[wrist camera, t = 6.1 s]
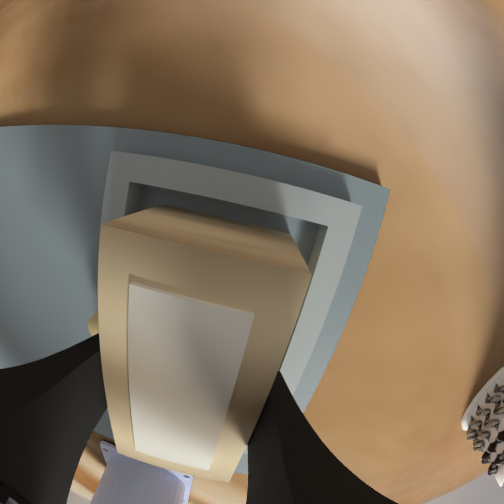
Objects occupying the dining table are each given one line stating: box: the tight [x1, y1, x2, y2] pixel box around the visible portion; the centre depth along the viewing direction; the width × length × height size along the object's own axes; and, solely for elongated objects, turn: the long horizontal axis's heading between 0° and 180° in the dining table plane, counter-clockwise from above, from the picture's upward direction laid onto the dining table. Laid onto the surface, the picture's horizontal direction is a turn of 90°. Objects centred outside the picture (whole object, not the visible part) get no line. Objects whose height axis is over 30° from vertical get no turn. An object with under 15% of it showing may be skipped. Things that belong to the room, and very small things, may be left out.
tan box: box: [98, 204, 312, 482], centre depth 9 cm, size 10×5×5 cm, turn 167°
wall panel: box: [0, 125, 390, 474], centre depth 11 cm, size 20×24×3 cm
